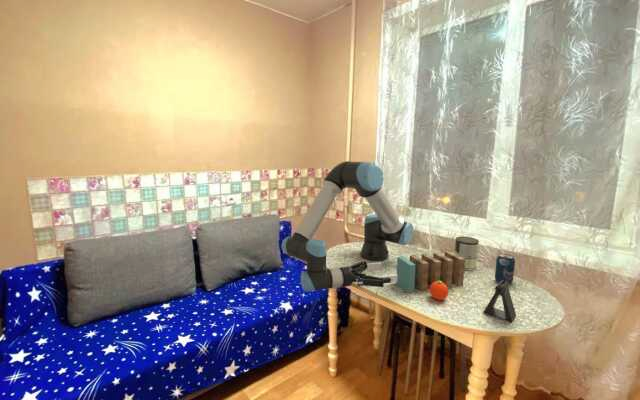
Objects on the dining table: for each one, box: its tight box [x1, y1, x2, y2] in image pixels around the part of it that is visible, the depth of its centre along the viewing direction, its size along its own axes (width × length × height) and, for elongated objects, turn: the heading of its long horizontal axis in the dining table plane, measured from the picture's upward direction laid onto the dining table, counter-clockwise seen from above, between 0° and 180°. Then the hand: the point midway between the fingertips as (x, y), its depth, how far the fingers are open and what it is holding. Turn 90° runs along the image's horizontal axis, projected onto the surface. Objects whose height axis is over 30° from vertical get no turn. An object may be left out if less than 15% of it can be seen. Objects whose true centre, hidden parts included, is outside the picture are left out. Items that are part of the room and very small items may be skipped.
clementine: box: [429, 281, 449, 301], centre depth 118 cm, size 8×7×7 cm
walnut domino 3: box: [432, 252, 453, 288], centre depth 132 cm, size 10×2×12 cm, turn 16°
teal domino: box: [395, 256, 415, 294], centre depth 127 cm, size 10×2×12 cm, turn 15°
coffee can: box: [454, 236, 480, 271], centre depth 149 cm, size 10×10×14 cm
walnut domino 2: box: [421, 253, 441, 287], centre depth 131 cm, size 10×2×12 cm, turn 16°
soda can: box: [494, 253, 516, 285], centre depth 133 cm, size 7×7×12 cm
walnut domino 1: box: [409, 254, 429, 292], centre depth 129 cm, size 10×2×12 cm, turn 16°
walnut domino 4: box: [443, 250, 465, 287], centre depth 134 cm, size 10×2×12 cm, turn 16°
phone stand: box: [483, 280, 517, 323], centre depth 106 cm, size 9×6×12 cm, turn 46°
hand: (388, 271), depth 125 cm, fingers open, 13 cm apart
